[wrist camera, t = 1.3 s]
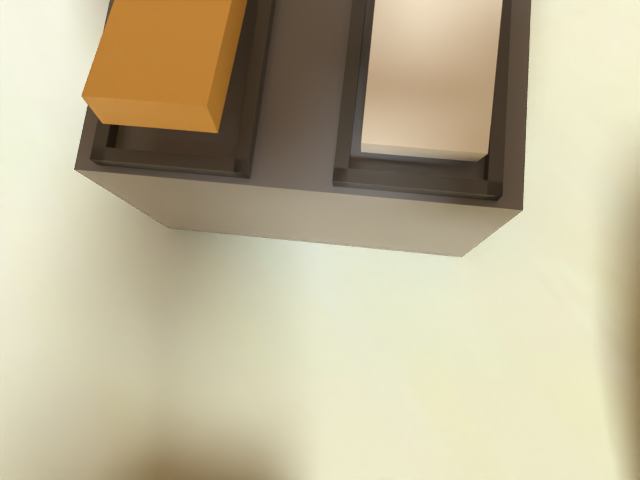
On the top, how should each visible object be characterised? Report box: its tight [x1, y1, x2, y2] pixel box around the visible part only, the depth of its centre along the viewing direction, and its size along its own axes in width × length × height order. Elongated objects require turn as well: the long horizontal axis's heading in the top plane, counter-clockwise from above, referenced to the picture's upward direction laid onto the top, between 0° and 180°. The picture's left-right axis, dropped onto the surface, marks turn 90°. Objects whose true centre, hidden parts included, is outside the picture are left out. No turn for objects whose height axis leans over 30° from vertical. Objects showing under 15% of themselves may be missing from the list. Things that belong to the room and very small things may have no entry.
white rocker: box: [361, 0, 503, 162], centre depth 14 cm, size 6×3×1 cm, turn 174°
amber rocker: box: [82, 0, 247, 133], centre depth 14 cm, size 6×3×1 cm, turn 174°
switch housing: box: [74, 0, 531, 257], centre depth 19 cm, size 8×13×8 cm, turn 84°
